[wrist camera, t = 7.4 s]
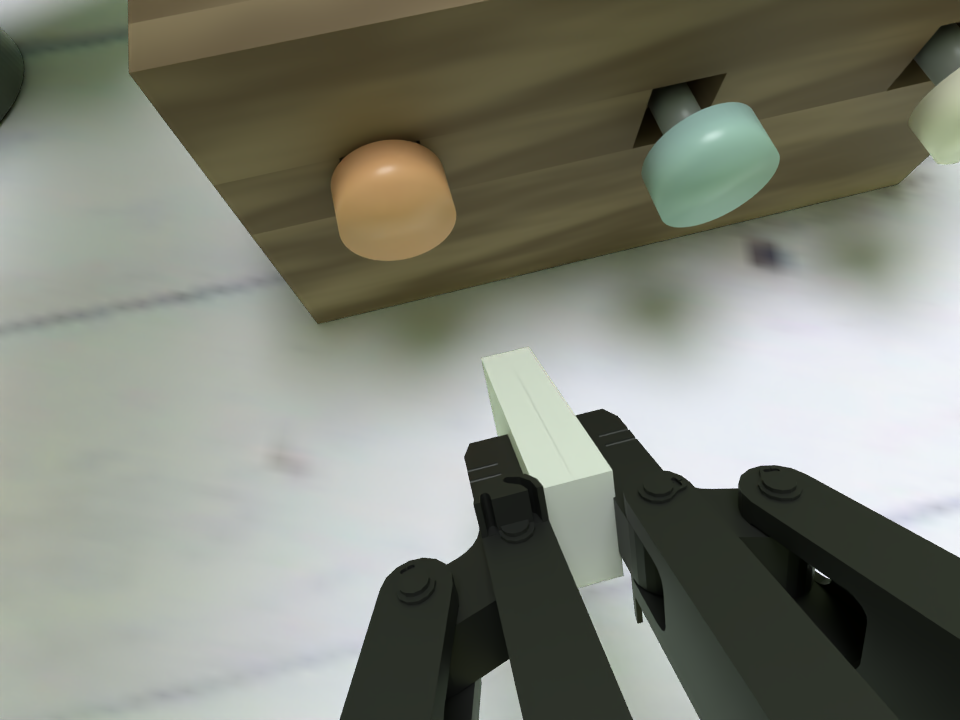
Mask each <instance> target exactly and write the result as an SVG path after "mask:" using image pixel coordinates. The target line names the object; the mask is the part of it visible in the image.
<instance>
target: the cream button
mask: <svg viewBox="0 0 960 720" xmlns="http://www.w3.org/2000/svg"><path fill="white" fill-rule="evenodd" d="M914 60H915V61H916V63H917V64H918V65H919V66H920V68H921V69H922V70H923V71H924V72H925V74H926V75H927V76H928V77H929V79H930V80H931V81H932V82H933V84H934V85H935V86H936V87H934V88H933V89H932V90H931V91H930V92H929V93H928V94H927V95H926V96H925V97H924V98H923V99H922V100H921V101H920V103H919V104H918V105H917V106H916V108H915V109H914V110H913V112H912V114H911V116H910V118H909V127H910V128H911V130H912V131H913V132H914V134H915V135H916V136H917V138H918V139H919V140H920V142H921V143H922V144H923V146H924V147H925V148H926V150H927V151H928V152H929V154H930V155H931V156H932V158H933V159H934V160H935V162H936V163H938V164H941V165H947V164H954V163H958V162H960V27H959V26H958V25H957V24H956V23H952V24H947V25H943V26H940V28H939V29H938V30H937V31H936V32H935V34H934V35H933V36H932V37H931V38H930V40H929V41H928V42H927V43H926V44H925V45H924V47H923V48H922V49H921V50H920V51H919V53H918V54H917V55H916V56H915V57H914Z"/></svg>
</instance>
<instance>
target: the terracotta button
mask: <svg viewBox="0 0 960 720" xmlns="http://www.w3.org/2000/svg"><path fill="white" fill-rule="evenodd" d="M331 193H332V198H333V204H334V209H335V214H336V220H337V225H338V230H339V235H340V238H341V240H342V242H343V244H344V245H345V246H346V247H347V248H348V249H349V250H351V251H352V252H354V253H355V254H357V255H359V256H362V257H365V258H368V259H373V260H380V261H395V260H403V259H408V258H412V257H415V256H418V255H421V254H423V253H425V252H428V251H429V250H431V249H433V248H435V247H436V246H438V245H439V244H440V243H441V242H443V241H444V240H445V239H446V238H447V237H448V235H449V234H450V233H451V231H452V229H453V228H454V225H455V222H456V210H455V206H454V202H453V199H452V196H451V192H450V189H449V186H448V182H447V179H446V175H445V172H444V169H443V166H442V163H441V161H440V160H439V158H438V157H437V156H436V155H435V154H434V153H433V152H432V151H431V150H429V149H428V148H426V147H424V146H422V145H420V144H417V143H414V142H411V141H405V140H382V141H377V142H373V143H369V144H367V145H364V146H361V147H359V148H358V149H356V150H354V151H352V152H351V153H349V154H348V155H347V156H346V157H345V158H343V159H342V160H341V162H340V163H339V164H338V165H337V167H336V168H335V170H334V172H333V175H332V178H331Z"/></svg>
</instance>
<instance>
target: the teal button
mask: <svg viewBox="0 0 960 720" xmlns="http://www.w3.org/2000/svg"><path fill="white" fill-rule="evenodd" d="M647 105H648V106H649V108H650V110H651V112H652V114H653V116H654V118H655V120H656V122H657V124H658V126H659V128H660V130H661V132H662V134H663V136H662V137H661V138H660V139H659V140H658V141H657V142H656V143H655V145H654V146H653V147H652V149H651V150H650V151H649V153H648V155H647V156H646V158H645V160H644V163H643V166H642V172H641V173H642V179H643V181H644V183H645V185H646V188H647V190H648V192H649V194H650V196H651V198H652V200H653V202H654V205H655V207H656V209H657V211H658V213H659V215H660V217H661V219H662V221H663V222H664V223H665V224H666V225H669V226H672V227H691V226H696V225H700V224H703V223H706V222H709V221H712V220H714V219H717V218H719V217H721V216H723V215H725V214H727V213H729V212H731V211H732V210H734V209H736V208H737V207H739V206H740V205H742V204H744V203H745V202H746V201H748V200H749V199H750V198H752V197H753V196H754V195H755V194H757V193H758V192H759V191H760V190H761V189H762V188H763V187H764V186H765V185H766V184H767V183H768V182H769V180H770V179H771V178H772V176H773V175H774V173H775V172H776V170H777V168H778V165H779V161H780V156H779V153H778V151H777V149H776V147H775V146H774V144H773V143H772V141H771V139H770V138H769V136H768V134H767V133H766V131H765V129H764V128H763V126H762V124H761V123H760V121H759V120H758V118H757V116H756V115H755V113H754V111H753V110H752V109H751V108H750V107H749V106H748V105H746V104H743V103H739V102H727V103H721V104H717V105H713V106H710V107H707V108H705V109H702V110H701V108H700V106H699V105H698V103H697V101H696V99H695V97H694V96H693V94H692V92H691V90H690V88H689V87H688V85H687V83H686V82H683V83H678V84H674V85H669V86H665V87H660V88H656V89H653V90H652V93H651V96H650V98H649V101H648V104H647Z"/></svg>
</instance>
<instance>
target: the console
mask: <svg viewBox="0 0 960 720" xmlns="http://www.w3.org/2000/svg"><path fill="white" fill-rule="evenodd" d="M952 23H956V24H957V25H958V26H959V27H960V0H128V58H129V74H130V76H131V77H132V78H133V79H134V81H135V82H136V83H137V85H138V86H139V87H140V89H141V90H142V91H143V93H144V94H145V95H146V97H147V98H148V99H149V101H150V102H151V103H152V105H153V106H154V107H155V109H156V110H157V111H158V113H159V114H160V115H161V117H162V118H163V119H164V121H165V122H166V123H167V125H168V126H169V127H170V129H171V130H172V131H173V133H174V134H175V135H176V137H177V138H178V139H179V141H180V142H181V143H182V144H183V146H184V147H185V148H186V150H187V151H188V152H189V154H190V155H191V156H192V158H193V159H194V160H195V162H196V163H197V164H198V166H199V167H200V168H201V170H202V171H203V172H204V174H205V175H206V176H207V178H208V179H209V180H210V182H211V183H212V184H213V186H214V187H215V188H216V190H217V191H218V192H219V194H220V195H221V196H222V198H223V199H224V200H225V202H226V203H227V204H228V206H229V207H230V208H231V209H232V211H233V212H234V213H235V215H236V216H237V217H238V219H239V220H240V221H241V223H242V224H243V225H244V227H245V228H246V229H247V231H248V232H249V233H250V235H251V236H252V237H253V239H254V240H255V241H256V243H257V244H258V245H259V247H260V248H261V249H262V251H263V252H264V253H265V255H266V256H267V257H268V259H269V260H270V261H271V263H272V264H273V265H274V267H275V268H276V269H277V271H278V272H279V273H280V275H281V276H282V277H283V278H284V280H285V281H286V282H287V284H288V285H289V286H290V288H291V289H292V290H293V292H294V293H295V294H296V296H297V297H298V298H299V300H300V301H301V302H302V304H303V305H304V306H305V308H306V309H307V310H308V312H309V313H310V314H311V316H312V317H313V318H314V320H315V321H316V322H317V324H320V323H324V322H328V321H332V320H337V319H341V318H345V317H349V316H353V315H357V314H361V313H366V312H370V311H374V310H378V309H382V308H386V307H390V306H395V305H399V304H403V303H407V302H411V301H415V300H419V299H424V298H428V297H432V296H436V295H440V294H444V293H448V292H453V291H457V290H461V289H465V288H469V287H473V286H477V285H482V284H486V283H490V282H494V281H498V280H502V279H506V278H511V277H515V276H519V275H523V274H527V273H531V272H535V271H540V270H544V269H548V268H552V267H556V266H560V265H564V264H569V263H573V262H577V261H581V260H585V259H589V258H593V257H598V256H602V255H606V254H610V253H614V252H618V251H622V250H627V249H631V248H635V247H639V246H643V245H647V244H651V243H656V242H660V241H664V240H668V239H672V238H676V237H680V236H685V235H689V234H693V233H697V232H701V231H705V230H709V229H714V228H718V227H722V226H726V225H730V224H734V223H738V222H743V221H747V220H751V219H755V218H759V217H763V216H767V215H772V214H776V213H780V212H784V211H788V210H792V209H796V208H801V207H805V206H809V205H813V204H817V203H821V202H825V201H830V200H834V199H838V198H842V197H846V196H850V195H854V194H859V193H863V192H867V191H871V190H875V189H879V188H883V187H888V186H892V185H896V184H899V183H900V182H901V181H902V180H903V179H904V178H905V177H906V176H907V175H908V174H910V173H911V172H912V171H913V170H914V169H915V168H916V167H917V166H918V165H919V164H920V163H921V162H922V161H924V160H925V159H926V158H927V157H928V156H929V155H930V154H929V152H928V151H927V150H926V148H925V147H924V146H923V144H922V143H921V142H920V140H919V139H918V138H917V136H916V135H915V134H914V132H913V131H912V130H911V128H910V127H909V118H910V116H911V114H912V112H913V110H914V109H915V108H916V106H917V105H918V104H919V103H920V101H921V100H922V99H923V98H924V97H925V96H926V95H927V94H928V93H929V92H930V91H931V90H932V89H933V88H934V87H936V86H935V85H934V84H933V82H932V81H931V80H930V79H929V77H928V76H927V75H926V74H925V72H924V71H923V70H922V69H921V68H920V66H919V65H918V64H917V63H916V61H915V60H914V57H915V56H916V55H917V54H918V53H919V51H920V50H921V49H922V48H923V47H924V45H925V44H926V43H927V42H928V41H929V40H930V38H931V37H932V36H933V35H934V34H935V32H936V31H937V30H938V29H939V28H940V26H943V25H947V24H952ZM683 82H686V83H687V85H688V87H689V88H690V90H691V92H692V94H693V96H694V97H695V99H696V101H697V103H698V105H699V106H700V108H701V110H702V109H705V108H707V107H710V106H713V105H717V104H721V103H727V102H739V103H743V104H746V105H748V106H749V107H750V108H751V109H752V110H753V111H754V113H755V115H756V116H757V118H758V120H759V121H760V123H761V124H762V126H763V128H764V129H765V131H766V133H767V134H768V136H769V138H770V139H771V141H772V143H773V144H774V146H775V147H776V149H777V151H778V153H779V156H780V161H779V165H778V168H777V170H776V172H775V173H774V175H773V176H772V178H771V179H770V180H769V182H768V183H767V184H766V185H765V186H764V187H763V188H762V189H761V190H760V191H759V192H758V193H757V194H755V195H754V196H753V197H752V198H750V199H749V200H748V201H746V202H745V203H744V204H742V205H740V206H739V207H737V208H736V209H734V210H732V211H731V212H729V213H727V214H725V215H723V216H721V217H719V218H717V219H714V220H712V221H709V222H706V223H703V224H700V225H696V226H691V227H672V226H669V225H666V224H665V223H664V222H663V221H662V219H661V217H660V215H659V213H658V211H657V209H656V207H655V205H654V202H653V200H652V198H651V196H650V194H649V192H648V190H647V188H646V185H645V183H644V181H643V179H642V173H641V172H642V166H643V163H644V160H645V158H646V156H647V155H648V153H649V151H650V150H651V149H652V147H653V146H654V145H655V143H656V142H657V141H658V140H659V139H660V138H661V137H662V136H663V134H662V132H661V130H660V128H659V126H658V124H657V122H656V120H655V118H654V116H653V114H652V112H651V110H650V108H649V106H648V105H647V104H648V101H649V98H650V96H651V93H652V90H653V89H656V88H660V87H665V86H669V85H674V84H678V83H683ZM382 140H405V141H411V142H414V143H417V144H420V145H422V146H424V147H426V148H428V149H429V150H431V151H432V152H433V153H434V154H435V155H436V156H437V157H438V158H439V160H440V161H441V163H442V166H443V169H444V172H445V175H446V179H447V182H448V186H449V189H450V192H451V196H452V199H453V202H454V206H455V210H456V222H455V225H454V228H453V229H452V231H451V233H450V234H449V235H448V237H447V238H446V239H445V240H444V241H443V242H441V243H440V244H439V245H438V246H436V247H435V248H433V249H431V250H429V251H428V252H425V253H423V254H421V255H418V256H415V257H412V258H408V259H403V260H395V261H380V260H373V259H368V258H365V257H362V256H359V255H357V254H355V253H354V252H352V251H351V250H349V249H348V248H347V247H346V246H345V245H344V244H343V242H342V240H341V238H340V235H339V230H338V225H337V220H336V214H335V209H334V204H333V198H332V193H331V178H332V175H333V172H334V170H335V168H336V167H337V165H338V164H339V163H340V162H341V160H342V159H343V158H345V157H346V156H347V155H348V154H349V153H351V152H352V151H354V150H356V149H358V148H359V147H361V146H364V145H367V144H369V143H373V142H377V141H382Z"/></svg>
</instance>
